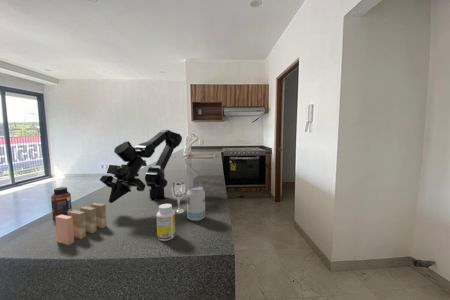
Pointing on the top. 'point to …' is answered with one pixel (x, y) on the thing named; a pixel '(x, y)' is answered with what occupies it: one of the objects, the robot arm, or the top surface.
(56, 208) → the supplement bottle
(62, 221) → the domino
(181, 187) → the wineglass
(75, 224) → the domino
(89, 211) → the domino
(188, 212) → the beverage can
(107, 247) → the top surface
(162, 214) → the supplement bottle
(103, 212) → the domino
